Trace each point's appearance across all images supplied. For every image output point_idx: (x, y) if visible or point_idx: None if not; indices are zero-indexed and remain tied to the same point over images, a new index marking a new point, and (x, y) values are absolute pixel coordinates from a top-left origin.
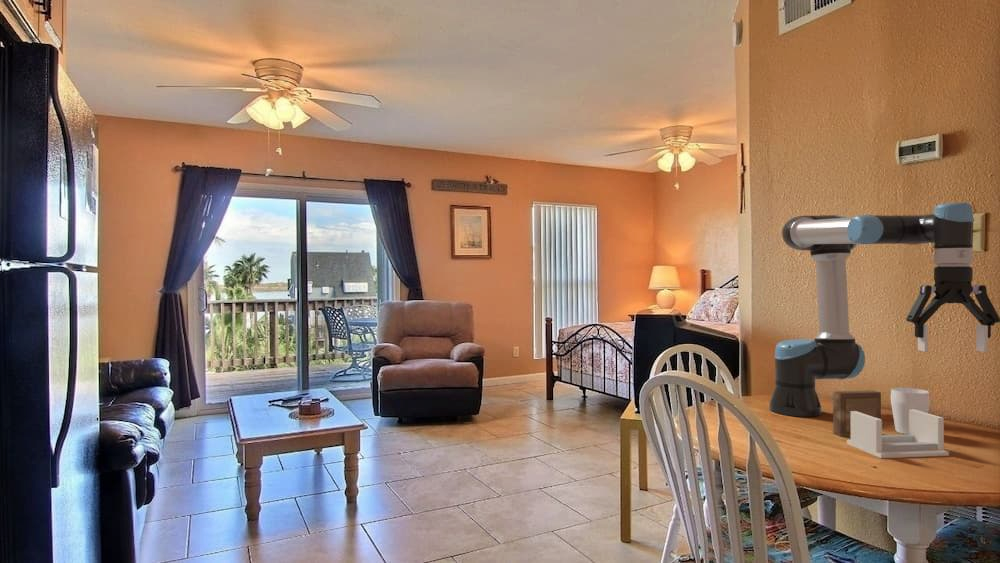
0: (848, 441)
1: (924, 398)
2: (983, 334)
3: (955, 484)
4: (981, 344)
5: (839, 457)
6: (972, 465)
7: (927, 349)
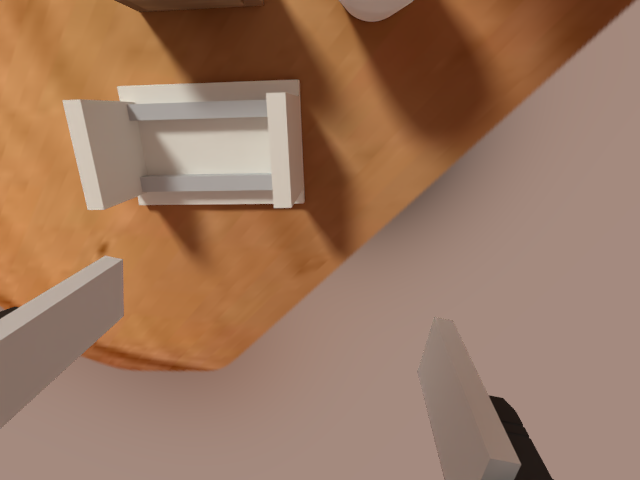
0: (120, 93)
1: (390, 3)
2: (442, 452)
3: (189, 340)
4: (432, 381)
5: (60, 188)
6: (300, 262)
7: (113, 322)
